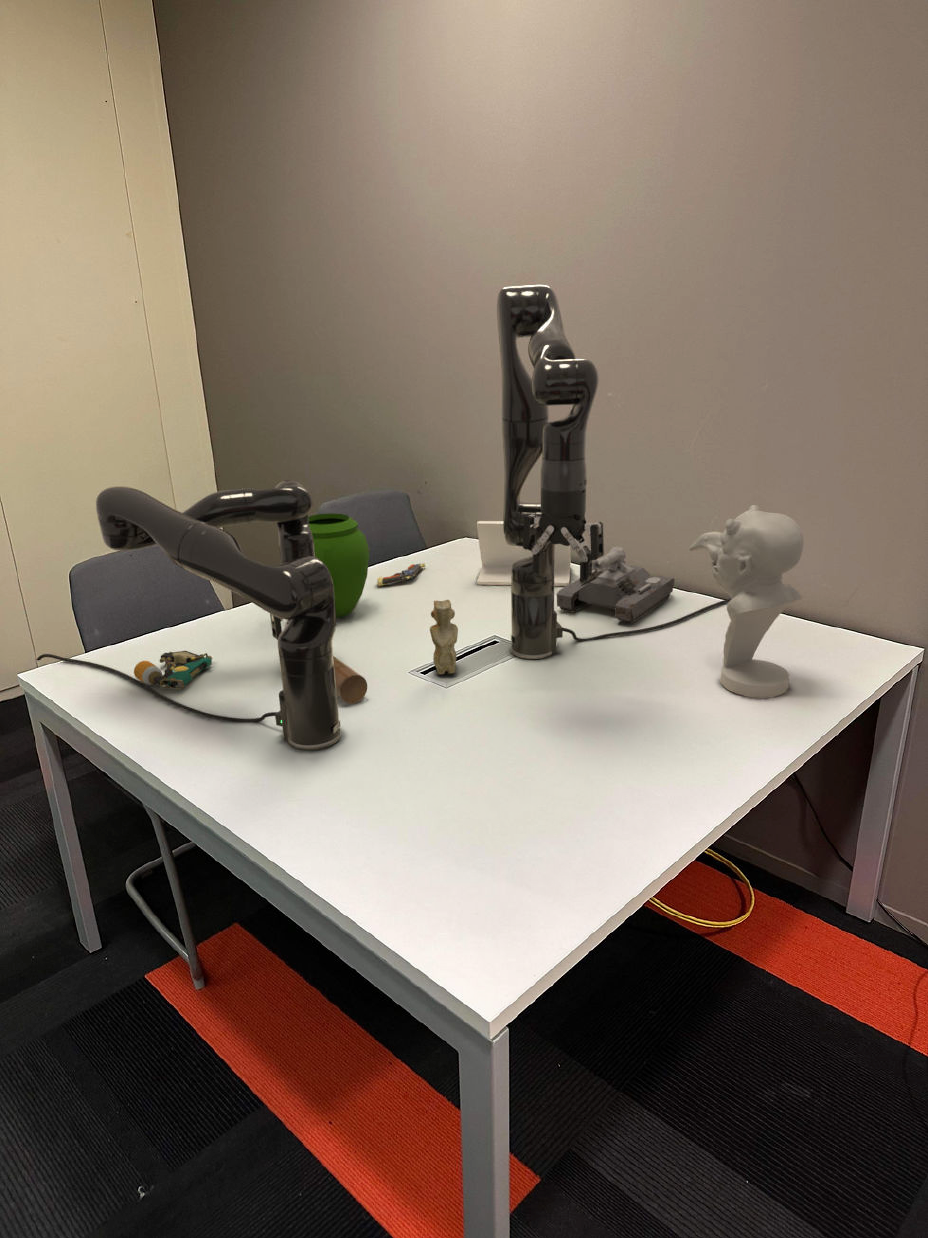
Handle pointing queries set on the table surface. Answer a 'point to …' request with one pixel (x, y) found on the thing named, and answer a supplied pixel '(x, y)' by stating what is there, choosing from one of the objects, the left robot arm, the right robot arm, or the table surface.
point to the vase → (341, 557)
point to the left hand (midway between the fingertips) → (307, 651)
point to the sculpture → (444, 637)
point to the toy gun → (401, 575)
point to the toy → (617, 588)
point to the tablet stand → (512, 556)
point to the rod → (348, 683)
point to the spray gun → (172, 669)
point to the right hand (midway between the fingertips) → (562, 577)
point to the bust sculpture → (753, 593)
